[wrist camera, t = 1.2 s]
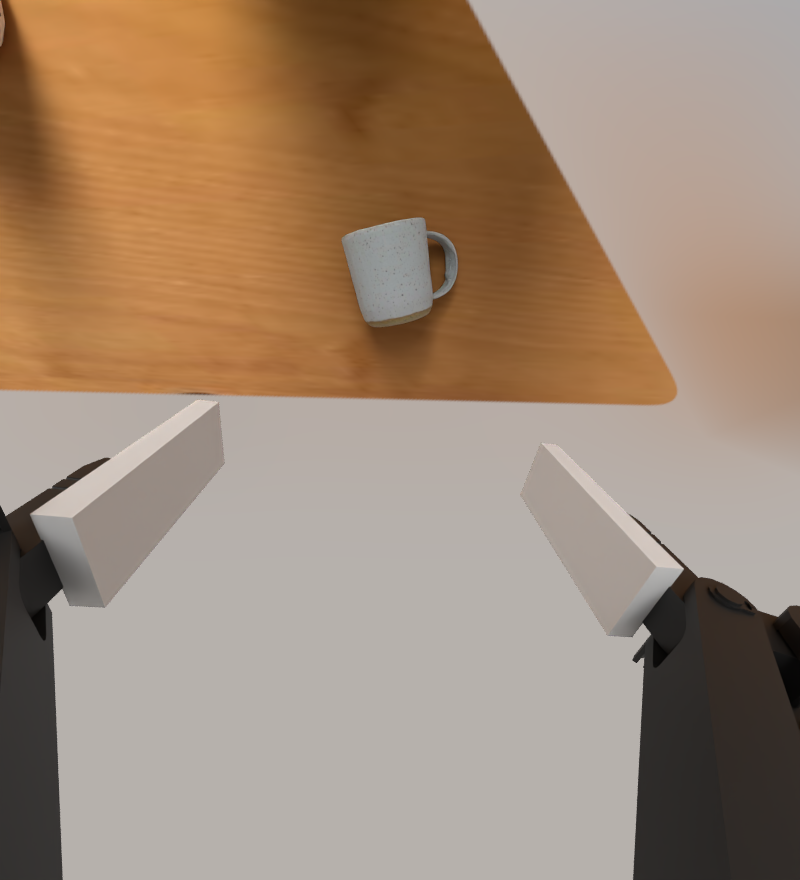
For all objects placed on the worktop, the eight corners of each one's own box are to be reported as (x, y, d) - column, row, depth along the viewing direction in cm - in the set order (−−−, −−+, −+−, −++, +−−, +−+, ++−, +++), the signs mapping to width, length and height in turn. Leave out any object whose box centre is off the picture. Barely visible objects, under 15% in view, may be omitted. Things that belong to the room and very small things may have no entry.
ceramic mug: (366, 325, 36) (364, 335, 29) (344, 241, 33) (336, 230, 26) (459, 301, 36) (479, 306, 29) (447, 213, 32) (467, 195, 25)
